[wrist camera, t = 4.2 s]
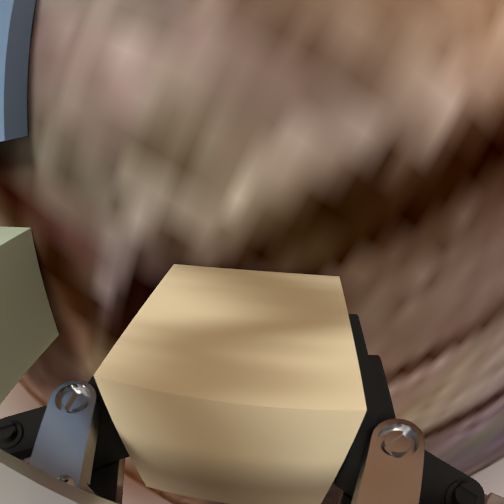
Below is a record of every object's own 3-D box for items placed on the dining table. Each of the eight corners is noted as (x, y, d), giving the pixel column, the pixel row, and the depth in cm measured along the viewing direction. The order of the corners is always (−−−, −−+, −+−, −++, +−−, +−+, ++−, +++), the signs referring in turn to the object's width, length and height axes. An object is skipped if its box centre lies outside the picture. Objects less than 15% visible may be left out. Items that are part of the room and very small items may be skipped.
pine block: (339, 276, 9) (366, 409, 5) (316, 392, 11) (317, 509, 7) (174, 264, 10) (93, 375, 5) (187, 379, 12) (146, 486, 7)
